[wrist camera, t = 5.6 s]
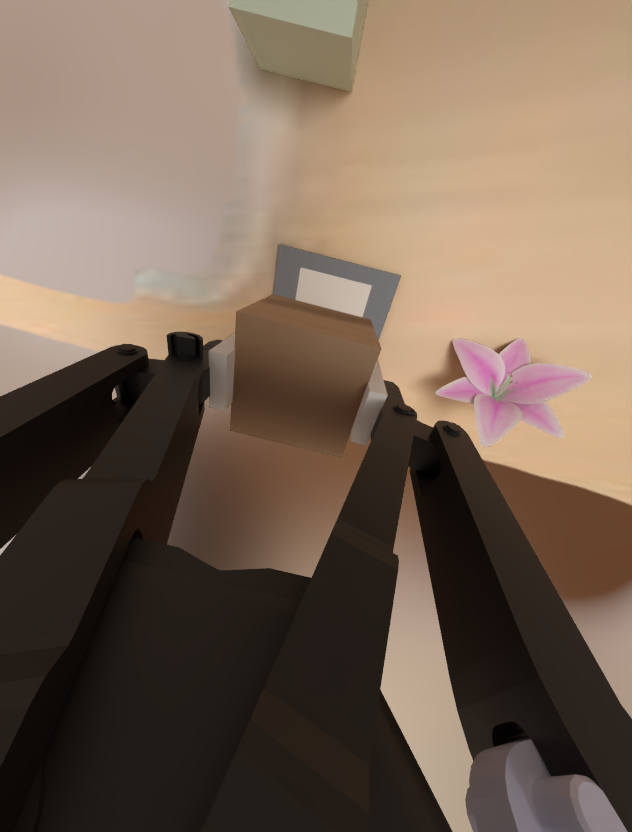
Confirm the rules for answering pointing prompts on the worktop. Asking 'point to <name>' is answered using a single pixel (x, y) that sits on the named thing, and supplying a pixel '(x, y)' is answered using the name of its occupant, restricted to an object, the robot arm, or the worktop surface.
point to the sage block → (304, 37)
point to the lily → (509, 388)
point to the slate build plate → (335, 284)
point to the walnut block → (300, 373)
